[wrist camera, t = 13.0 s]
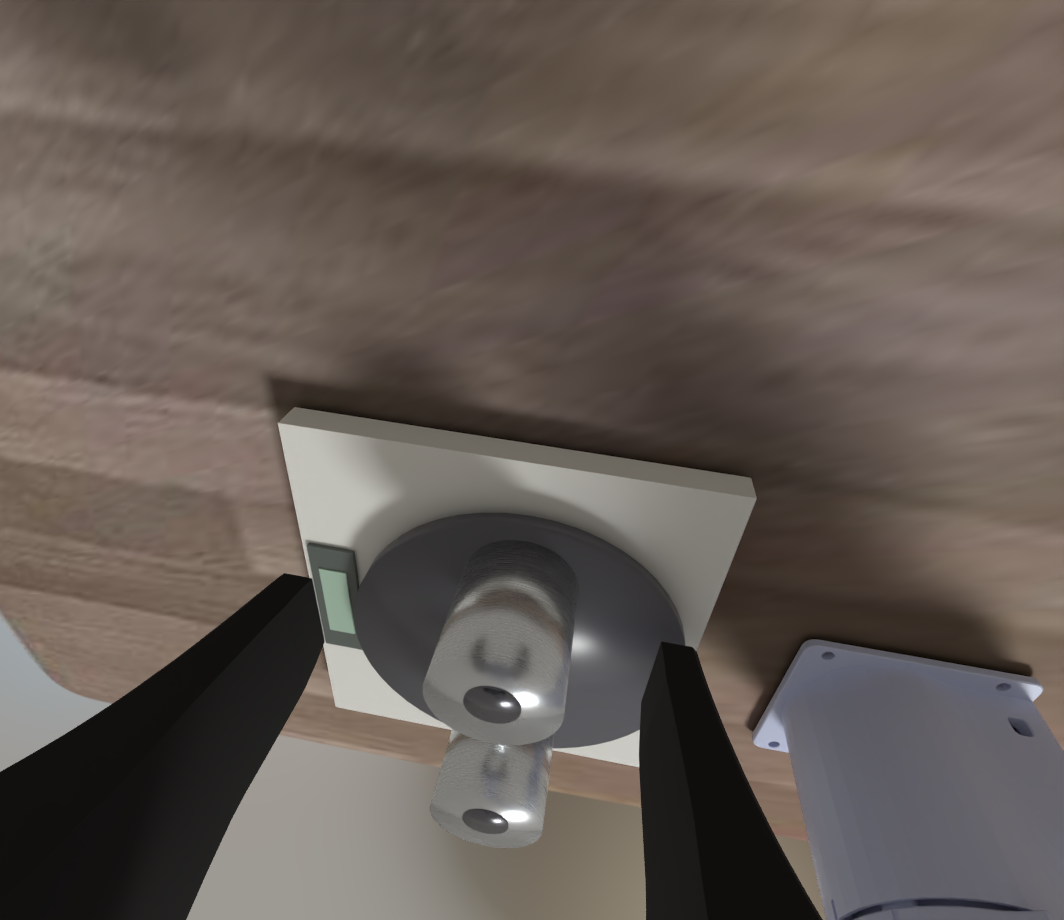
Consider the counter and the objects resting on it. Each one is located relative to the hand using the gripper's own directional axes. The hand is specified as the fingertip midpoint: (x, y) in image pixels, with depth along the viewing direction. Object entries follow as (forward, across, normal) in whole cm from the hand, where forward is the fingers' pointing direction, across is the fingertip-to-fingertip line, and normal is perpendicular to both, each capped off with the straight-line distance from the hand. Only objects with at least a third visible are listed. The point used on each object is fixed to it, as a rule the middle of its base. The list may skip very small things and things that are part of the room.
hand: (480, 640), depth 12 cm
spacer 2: (+8, 0, +14) cm, 16 cm away
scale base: (+10, +1, +10) cm, 14 cm away
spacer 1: (+8, 0, +6) cm, 10 cm away
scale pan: (+8, 0, +10) cm, 13 cm away
